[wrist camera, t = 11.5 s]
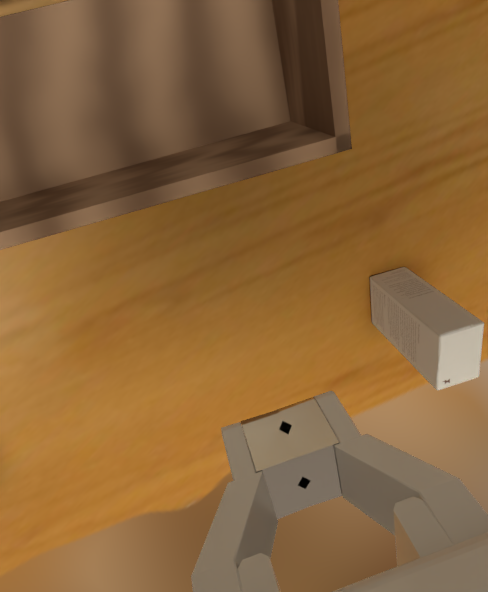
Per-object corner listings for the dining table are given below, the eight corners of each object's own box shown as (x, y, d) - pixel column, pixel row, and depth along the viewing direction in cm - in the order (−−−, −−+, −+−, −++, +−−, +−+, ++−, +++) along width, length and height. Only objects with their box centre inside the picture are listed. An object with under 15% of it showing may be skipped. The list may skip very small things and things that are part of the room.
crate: (274, -47, 31) (329, -90, 22) (299, 128, 37) (351, 148, 28) (-104, 44, 29) (-205, 35, 20) (-11, 216, 35) (-57, 266, 26)
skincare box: (406, 312, 49) (480, 378, 38) (370, 322, 48) (435, 393, 38) (406, 263, 46) (486, 322, 35) (368, 274, 45) (438, 336, 35)
